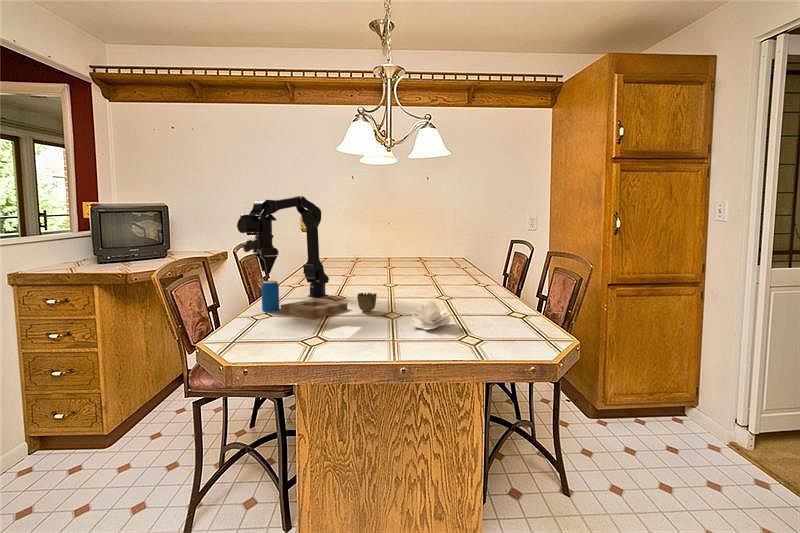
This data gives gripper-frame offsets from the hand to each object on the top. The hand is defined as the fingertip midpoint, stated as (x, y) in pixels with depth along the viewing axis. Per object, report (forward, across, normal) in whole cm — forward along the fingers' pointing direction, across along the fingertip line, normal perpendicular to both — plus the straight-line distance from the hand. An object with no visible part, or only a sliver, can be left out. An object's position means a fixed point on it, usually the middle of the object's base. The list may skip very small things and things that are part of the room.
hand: (265, 272), depth 173 cm
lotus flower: (+16, +51, +44) cm, 69 cm away
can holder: (+16, +12, +16) cm, 25 cm away
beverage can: (+16, +2, +1) cm, 16 cm away
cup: (+16, +23, +33) cm, 43 cm away
